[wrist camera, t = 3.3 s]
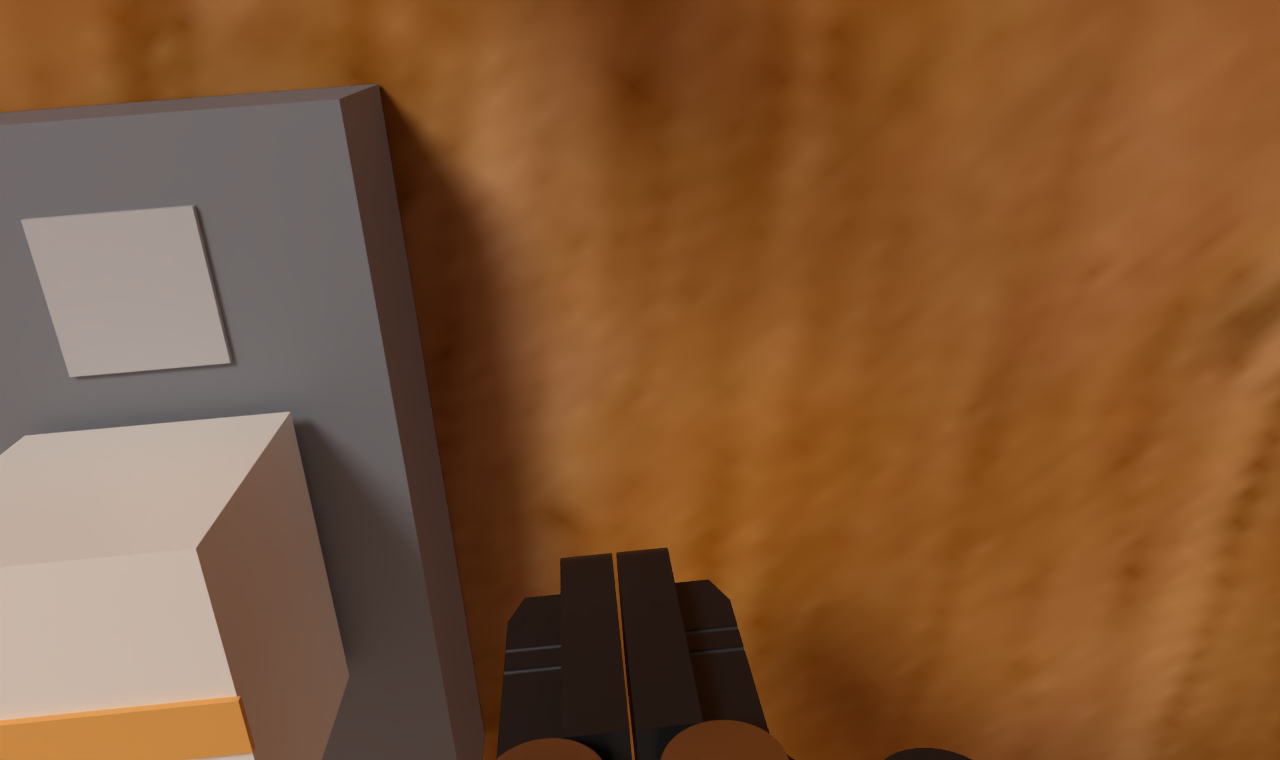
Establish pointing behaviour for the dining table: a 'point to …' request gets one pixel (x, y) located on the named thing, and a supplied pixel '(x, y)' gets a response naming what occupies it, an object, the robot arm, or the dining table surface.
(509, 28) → the dining table surface
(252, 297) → the fader console
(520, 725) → the robot arm
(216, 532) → the fader knob
